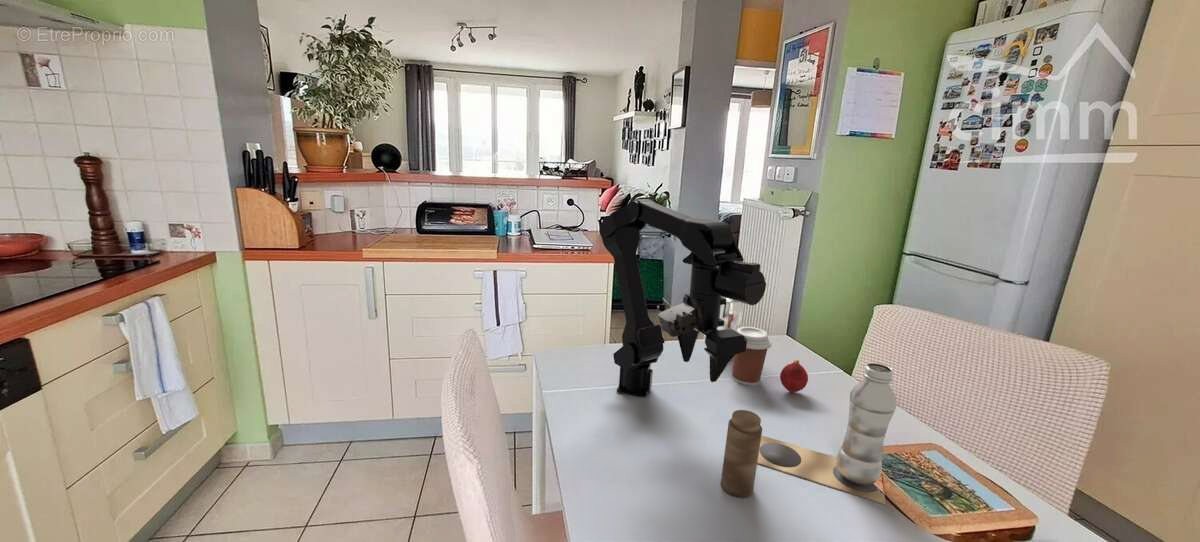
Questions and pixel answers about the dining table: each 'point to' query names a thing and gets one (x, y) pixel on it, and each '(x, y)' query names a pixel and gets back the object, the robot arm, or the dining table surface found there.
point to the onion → (794, 377)
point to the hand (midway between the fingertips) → (699, 371)
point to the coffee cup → (751, 356)
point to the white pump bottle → (730, 314)
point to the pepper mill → (741, 454)
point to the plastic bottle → (867, 426)
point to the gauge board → (811, 467)
